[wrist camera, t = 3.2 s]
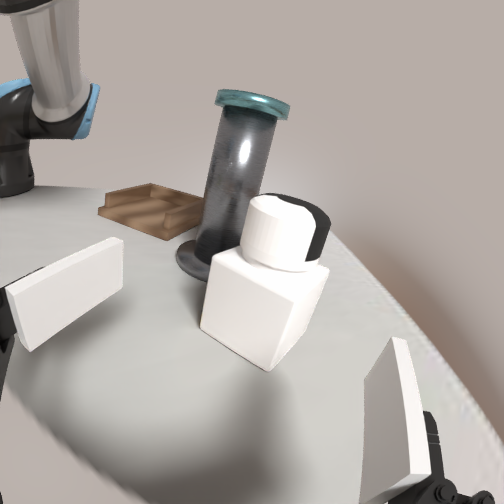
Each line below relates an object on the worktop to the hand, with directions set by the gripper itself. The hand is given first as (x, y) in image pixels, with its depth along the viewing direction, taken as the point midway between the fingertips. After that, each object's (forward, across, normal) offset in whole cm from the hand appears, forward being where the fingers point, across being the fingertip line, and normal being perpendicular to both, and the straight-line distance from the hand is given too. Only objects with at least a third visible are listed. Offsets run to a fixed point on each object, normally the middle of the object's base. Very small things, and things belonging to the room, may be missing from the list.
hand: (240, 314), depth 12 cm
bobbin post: (+20, -8, -8) cm, 23 cm away
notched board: (+28, -23, -8) cm, 37 cm away
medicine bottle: (+10, 0, -9) cm, 13 cm away
